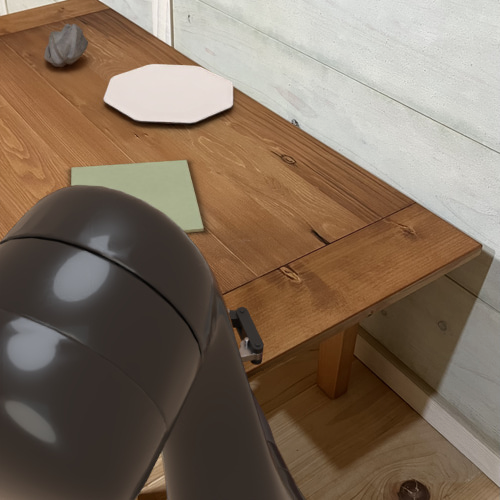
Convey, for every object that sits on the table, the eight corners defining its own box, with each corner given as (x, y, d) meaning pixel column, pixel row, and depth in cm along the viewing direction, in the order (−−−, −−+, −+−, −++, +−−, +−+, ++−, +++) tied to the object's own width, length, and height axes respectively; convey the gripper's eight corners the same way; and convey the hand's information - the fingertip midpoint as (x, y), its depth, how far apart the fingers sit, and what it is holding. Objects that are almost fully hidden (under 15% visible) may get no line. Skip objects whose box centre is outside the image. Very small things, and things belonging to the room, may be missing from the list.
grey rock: (43, 53, 128) (36, 15, 123) (86, 50, 131) (82, 12, 126) (47, 75, 120) (41, 35, 115) (94, 71, 123) (89, 32, 118)
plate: (162, 143, 103) (162, 135, 102) (81, 94, 115) (80, 86, 114) (258, 101, 117) (258, 94, 116) (176, 61, 129) (176, 54, 128)
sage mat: (71, 243, 82) (70, 239, 82) (71, 170, 95) (71, 167, 95) (203, 231, 86) (203, 228, 85) (186, 162, 99) (186, 159, 98)
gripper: (297, 374, 54) (230, 260, 66) (140, 423, 50) (97, 292, 61) (289, 423, 59) (228, 309, 70) (145, 472, 55) (104, 342, 66)
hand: (167, 301), depth 66 cm, fingers open, 8 cm apart
